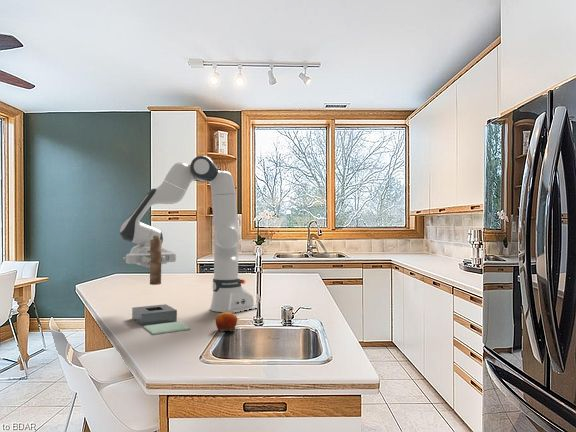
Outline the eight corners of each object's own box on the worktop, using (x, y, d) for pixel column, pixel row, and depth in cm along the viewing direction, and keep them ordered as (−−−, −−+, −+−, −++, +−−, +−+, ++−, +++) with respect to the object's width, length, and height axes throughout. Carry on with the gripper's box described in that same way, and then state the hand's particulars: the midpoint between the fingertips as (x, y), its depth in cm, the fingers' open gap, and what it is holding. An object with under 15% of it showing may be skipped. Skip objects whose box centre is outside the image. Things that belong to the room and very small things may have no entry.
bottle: (159, 282, 177) (159, 235, 177) (162, 284, 173) (163, 236, 173) (148, 283, 174) (149, 235, 174) (151, 285, 171) (152, 236, 171)
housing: (165, 314, 184) (165, 304, 184) (176, 321, 172) (176, 310, 172) (132, 318, 176) (132, 307, 176) (141, 325, 165) (141, 314, 165)
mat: (179, 322, 170) (179, 321, 170) (190, 329, 160) (190, 328, 160) (143, 327, 162) (143, 325, 162) (152, 334, 152) (153, 333, 152)
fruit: (217, 331, 153) (216, 309, 157) (215, 337, 159) (214, 316, 163) (239, 330, 155) (238, 308, 159) (236, 336, 161) (235, 315, 165)
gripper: (121, 250, 179) (130, 252, 167) (169, 248, 190) (180, 250, 179) (121, 265, 179) (129, 268, 167) (169, 262, 190) (180, 266, 179)
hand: (156, 259), depth 173 cm, fingers closed on bottle, 4 cm apart
